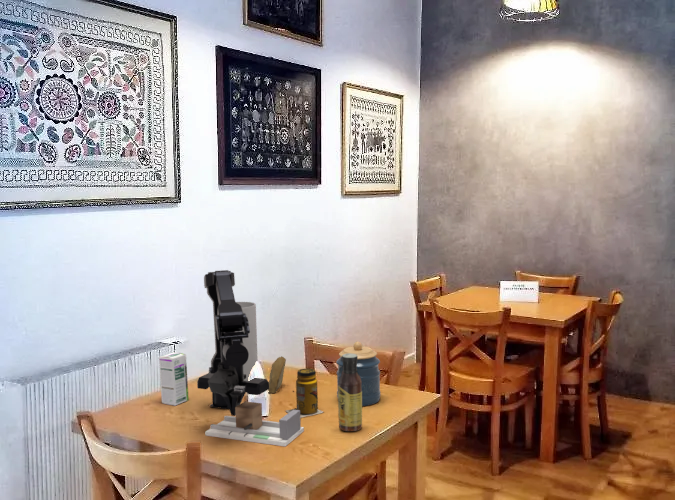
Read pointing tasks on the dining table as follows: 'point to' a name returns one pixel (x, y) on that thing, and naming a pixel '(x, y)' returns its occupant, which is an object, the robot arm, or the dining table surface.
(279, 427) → the gauge base
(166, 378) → the syrup box
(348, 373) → the sauce bottle
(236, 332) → the robot arm
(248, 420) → the brown cardboard cube
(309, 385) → the condiment
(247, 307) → the cylinder vase
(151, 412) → the dining table surface
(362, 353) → the canister
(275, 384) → the rock
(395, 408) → the dining table surface
